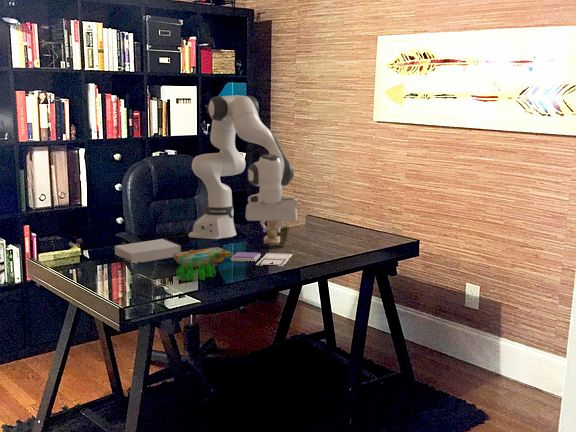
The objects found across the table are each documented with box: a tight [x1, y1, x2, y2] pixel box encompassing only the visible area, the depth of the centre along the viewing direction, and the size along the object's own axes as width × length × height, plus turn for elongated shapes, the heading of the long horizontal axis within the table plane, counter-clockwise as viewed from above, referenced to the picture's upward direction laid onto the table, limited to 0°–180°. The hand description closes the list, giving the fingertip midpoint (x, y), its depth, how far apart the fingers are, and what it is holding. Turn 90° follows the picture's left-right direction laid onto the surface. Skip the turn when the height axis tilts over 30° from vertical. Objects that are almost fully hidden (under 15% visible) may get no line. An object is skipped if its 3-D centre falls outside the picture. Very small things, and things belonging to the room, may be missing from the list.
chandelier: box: [175, 258, 216, 282], centre depth 240 cm, size 15×15×7 cm
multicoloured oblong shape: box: [172, 246, 233, 268], centre depth 261 cm, size 12×5×20 cm
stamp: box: [263, 221, 280, 245], centre depth 256 cm, size 6×4×10 cm
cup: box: [276, 226, 290, 248], centre depth 286 cm, size 8×7×8 cm
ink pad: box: [230, 251, 262, 263], centre depth 265 cm, size 10×9×2 cm
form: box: [255, 252, 294, 267], centre depth 263 cm, size 11×19×1 cm, turn 168°
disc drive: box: [114, 237, 184, 264], centre depth 273 cm, size 18×22×5 cm
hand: (271, 232), depth 256 cm, fingers closed on stamp, 4 cm apart
